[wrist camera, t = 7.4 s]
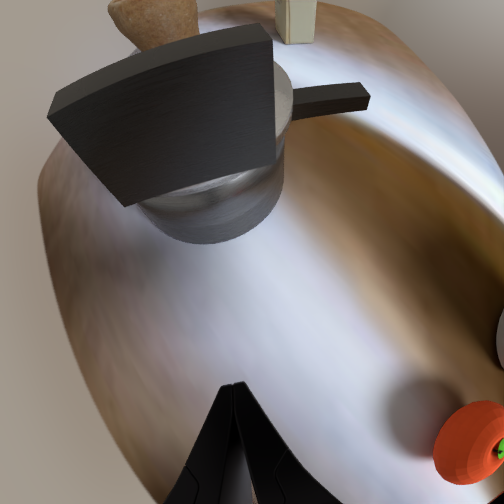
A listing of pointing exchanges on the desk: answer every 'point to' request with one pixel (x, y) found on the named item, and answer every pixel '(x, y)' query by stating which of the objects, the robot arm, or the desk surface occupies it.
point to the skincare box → (295, 20)
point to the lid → (179, 114)
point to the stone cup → (154, 21)
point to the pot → (247, 180)
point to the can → (500, 339)
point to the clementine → (470, 443)
